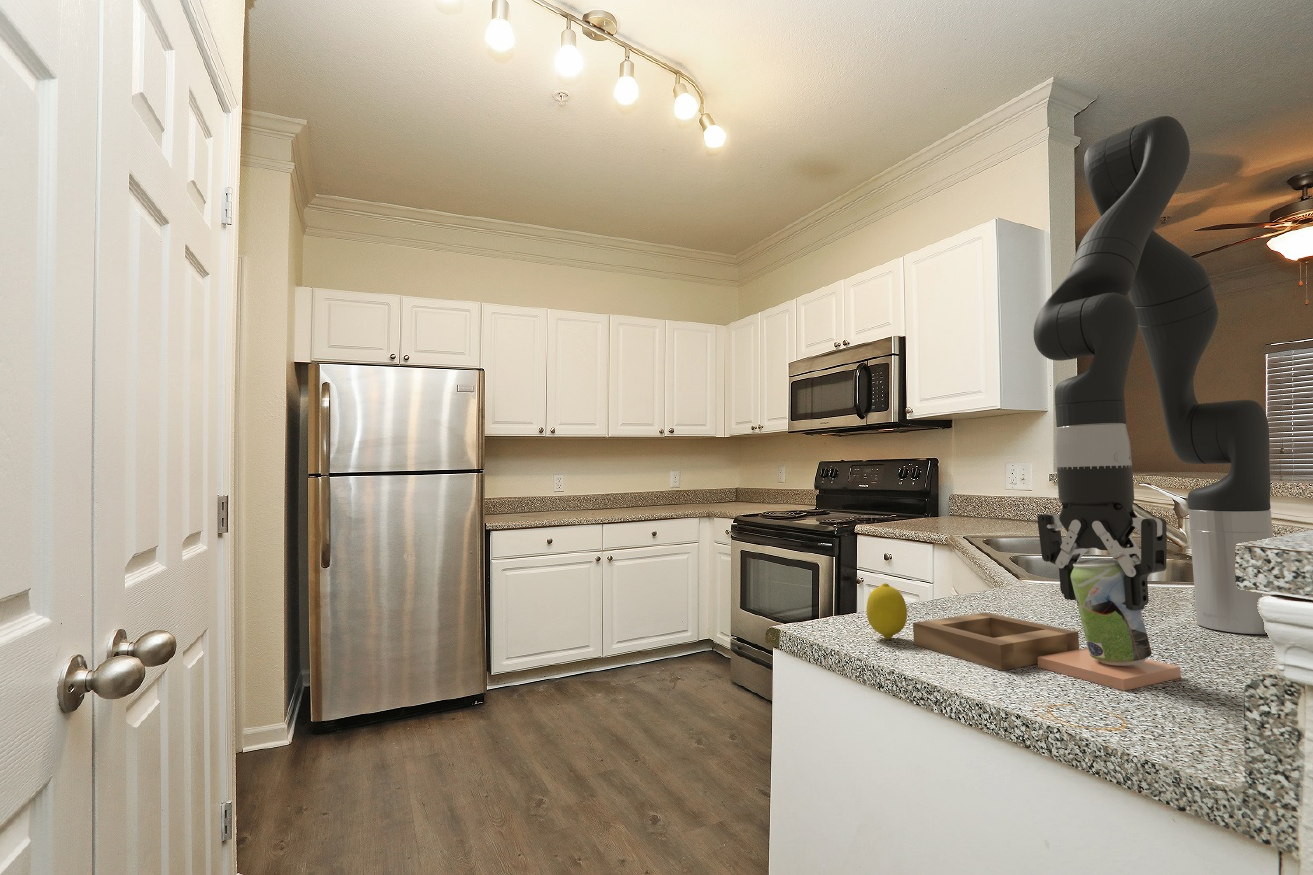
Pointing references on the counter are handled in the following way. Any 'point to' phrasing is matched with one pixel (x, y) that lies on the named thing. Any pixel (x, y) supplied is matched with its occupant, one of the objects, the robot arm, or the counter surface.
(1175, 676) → the plate
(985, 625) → the board
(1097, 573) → the beverage can
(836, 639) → the counter surface
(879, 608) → the lemon
